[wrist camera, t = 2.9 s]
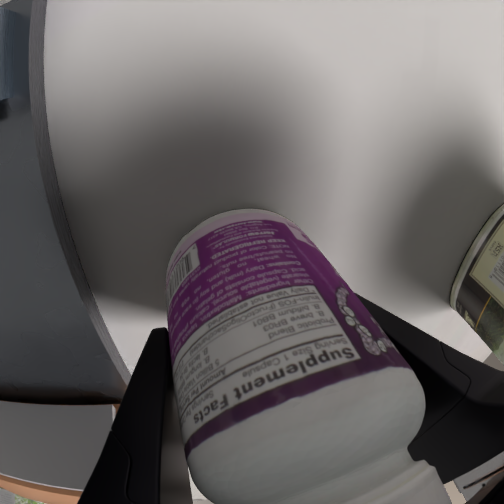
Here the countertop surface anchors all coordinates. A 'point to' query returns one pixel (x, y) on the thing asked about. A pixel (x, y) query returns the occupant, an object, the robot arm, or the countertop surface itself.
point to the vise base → (42, 246)
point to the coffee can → (484, 285)
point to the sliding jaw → (51, 448)
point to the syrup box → (14, 498)
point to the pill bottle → (286, 374)
